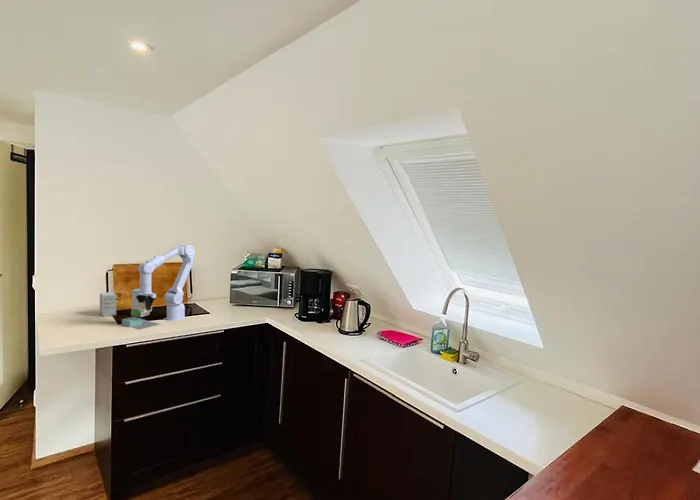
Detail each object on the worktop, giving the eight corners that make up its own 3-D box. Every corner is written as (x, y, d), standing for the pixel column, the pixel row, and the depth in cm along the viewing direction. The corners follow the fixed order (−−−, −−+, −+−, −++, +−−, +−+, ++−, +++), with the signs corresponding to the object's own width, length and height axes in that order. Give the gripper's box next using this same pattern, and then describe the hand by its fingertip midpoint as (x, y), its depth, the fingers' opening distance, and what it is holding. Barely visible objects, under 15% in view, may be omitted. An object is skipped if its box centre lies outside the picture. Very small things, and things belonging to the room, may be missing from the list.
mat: (142, 319, 241) (142, 319, 241) (160, 324, 233) (160, 324, 233) (120, 325, 229) (120, 324, 229) (139, 330, 222) (139, 329, 222)
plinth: (134, 322, 235) (134, 316, 234) (142, 324, 231) (142, 318, 231) (122, 324, 229) (122, 319, 228) (130, 327, 225) (130, 321, 225)
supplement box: (99, 314, 249) (99, 292, 248) (113, 312, 254) (113, 291, 253) (102, 316, 244) (102, 295, 242) (116, 315, 248) (116, 293, 247)
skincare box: (130, 315, 248) (130, 289, 247) (140, 313, 254) (140, 287, 253) (141, 317, 245) (141, 291, 244) (150, 315, 251) (150, 289, 250)
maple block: (146, 309, 234) (146, 301, 233) (151, 311, 231) (151, 302, 231) (139, 311, 230) (139, 302, 229) (144, 312, 228) (144, 303, 227)
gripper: (130, 283, 229) (130, 308, 230) (147, 287, 222) (147, 312, 224) (142, 282, 235) (142, 306, 237) (159, 285, 228) (159, 310, 230)
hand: (145, 309), depth 230 cm, fingers closed on maple block, 4 cm apart
